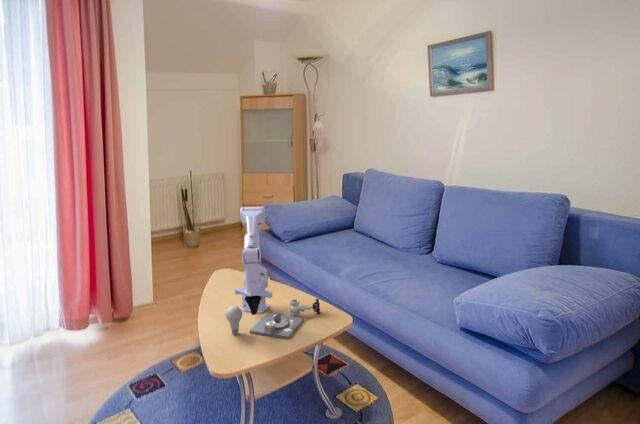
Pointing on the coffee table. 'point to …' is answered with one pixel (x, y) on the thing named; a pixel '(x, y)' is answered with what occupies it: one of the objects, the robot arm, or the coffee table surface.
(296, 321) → the board
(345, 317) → the coffee table surface
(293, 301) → the valve
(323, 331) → the coffee table surface
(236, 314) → the lightbulb
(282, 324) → the silver lidded pan
